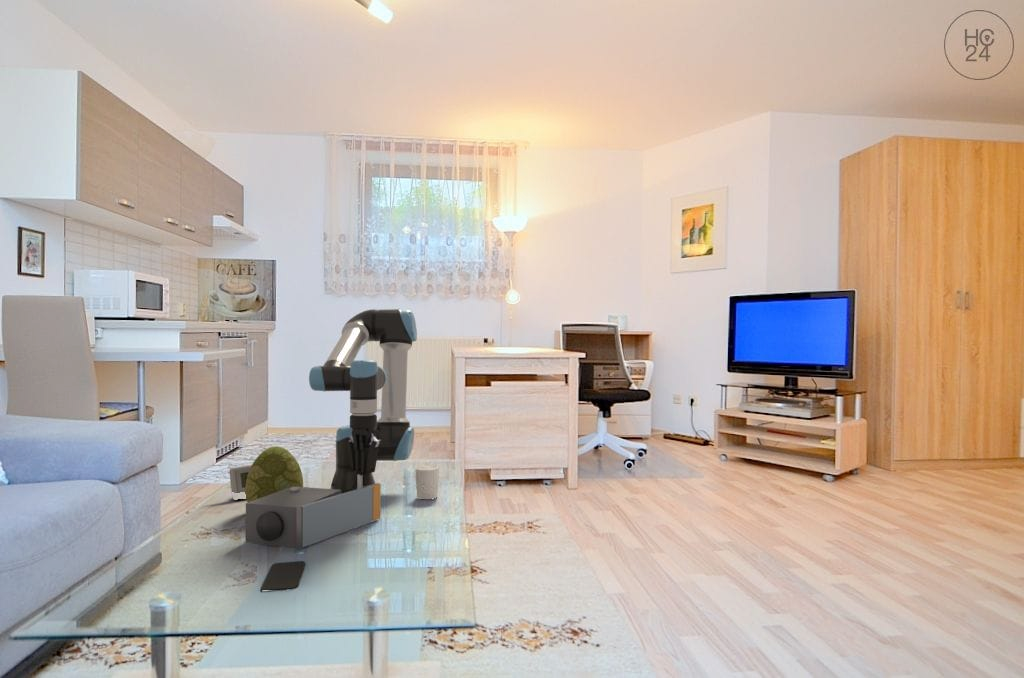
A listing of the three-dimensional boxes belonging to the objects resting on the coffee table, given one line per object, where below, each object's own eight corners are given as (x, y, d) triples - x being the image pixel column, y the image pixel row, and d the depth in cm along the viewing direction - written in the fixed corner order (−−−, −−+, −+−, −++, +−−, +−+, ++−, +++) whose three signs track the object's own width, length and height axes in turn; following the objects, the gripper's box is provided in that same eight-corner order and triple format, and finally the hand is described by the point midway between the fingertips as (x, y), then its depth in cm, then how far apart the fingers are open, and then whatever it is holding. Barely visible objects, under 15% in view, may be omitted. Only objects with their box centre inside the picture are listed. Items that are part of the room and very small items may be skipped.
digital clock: (231, 502, 187) (231, 469, 187) (227, 496, 194) (227, 465, 194) (283, 495, 195) (283, 464, 196) (278, 490, 203) (278, 460, 203)
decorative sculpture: (269, 523, 164) (269, 453, 164) (233, 515, 172) (233, 448, 173) (314, 509, 178) (314, 444, 179) (279, 502, 186) (279, 440, 187)
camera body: (292, 521, 166) (292, 483, 166) (341, 525, 162) (341, 486, 162) (241, 544, 146) (241, 501, 146) (295, 550, 142) (295, 506, 142)
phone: (259, 590, 117) (272, 563, 132) (259, 594, 117) (272, 566, 132) (297, 586, 119) (306, 560, 134) (297, 591, 119) (306, 564, 134)
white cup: (437, 500, 188) (437, 470, 188) (413, 500, 188) (413, 470, 188) (440, 494, 196) (440, 465, 196) (417, 494, 196) (417, 465, 196)
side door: (376, 518, 167) (376, 482, 168) (380, 519, 167) (380, 483, 167) (295, 548, 142) (295, 506, 142) (299, 549, 141) (299, 507, 141)
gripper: (338, 413, 165) (337, 496, 165) (368, 416, 157) (367, 503, 157) (359, 411, 171) (358, 491, 171) (388, 414, 164) (388, 497, 163)
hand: (362, 496), depth 164 cm, fingers closed
